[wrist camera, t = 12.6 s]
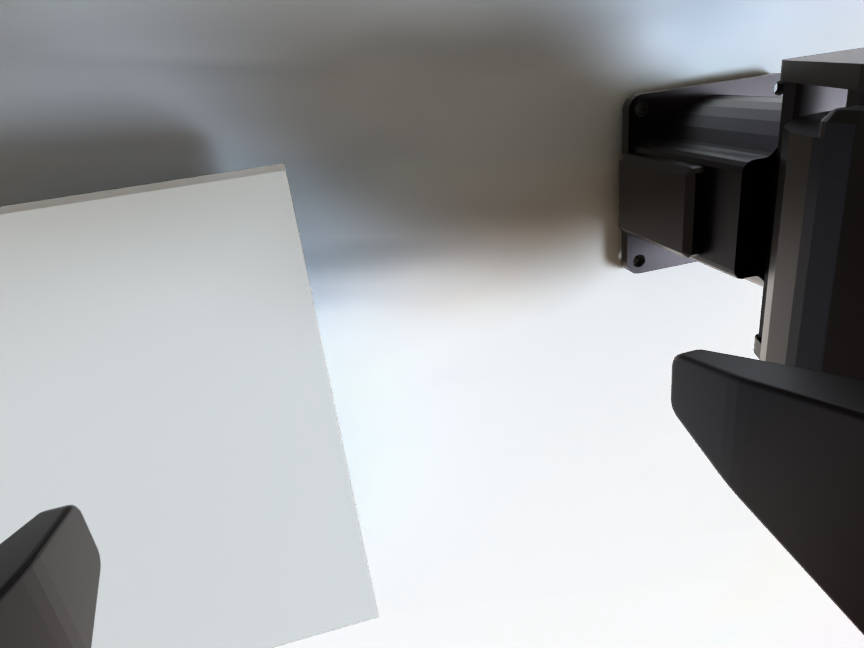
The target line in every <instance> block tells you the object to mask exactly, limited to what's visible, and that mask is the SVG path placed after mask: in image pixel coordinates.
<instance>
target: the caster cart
mask: <svg viewBox="0 0 864 648" xmlns="http://www.w3.org/2000/svg"><path fill="white" fill-rule="evenodd" d="M66 505H74V506H76V507H77V508H78V509H79V510H80V511H81V513H82V515H83V517H84V519H85V521H86V524H87V526H88V528H89V530H90V533H91V535H92V537H93V539H94V541H95V544H96V546H97V548H98V551H99V554H100V560H101V570H100V578H99V587H98V595H97V604H96V612H95V621H94V629H93V638H92V646H91V648H274V647H277V646H281V645H284V644H288V643H291V642H295V641H298V640H302V639H305V638H309V637H312V636H315V635H319V634H322V633H326V632H329V631H333V630H336V629H340V628H343V627H347V626H350V625H354V624H357V623H360V622H364V621H367V620H371V619H374V618H378V617H379V615H378V610H377V605H376V600H375V595H374V590H373V586H372V581H371V576H370V571H369V566H368V562H367V557H366V552H365V547H364V542H363V538H362V533H361V528H360V523H359V519H358V514H357V509H356V504H355V499H354V495H353V490H352V485H351V480H350V475H349V471H348V466H347V461H346V456H345V451H344V447H343V442H342V437H341V432H340V428H339V423H338V418H337V413H336V408H335V404H334V399H333V394H332V389H331V384H330V380H329V375H328V370H327V365H326V361H325V356H324V351H323V346H322V341H321V337H320V332H319V327H318V322H317V317H316V313H315V308H314V303H313V298H312V293H311V289H310V284H309V279H308V274H307V270H306V265H305V260H304V255H303V250H302V246H301V241H300V236H299V231H298V226H297V222H296V217H295V212H294V207H293V203H292V198H291V193H290V188H289V183H288V179H287V174H286V169H285V164H284V163H283V164H276V165H269V166H263V167H256V168H250V169H243V170H237V171H230V172H224V173H217V174H211V175H204V176H197V177H191V178H184V179H178V180H171V181H165V182H158V183H152V184H145V185H138V186H132V187H125V188H119V189H112V190H106V191H99V192H93V193H86V194H80V195H73V196H66V197H60V198H53V199H47V200H40V201H34V202H27V203H21V204H14V205H7V206H1V207H0V544H1V543H2V542H3V541H5V540H6V539H7V538H8V537H10V536H11V535H12V534H13V533H15V532H16V531H17V530H18V529H20V528H21V527H22V526H23V525H25V524H26V523H27V522H28V521H30V520H31V519H32V518H34V517H35V516H36V515H37V514H39V513H40V512H43V511H46V510H50V509H54V508H58V507H62V506H66Z"/></svg>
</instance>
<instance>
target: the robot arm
mask: <svg viewBox="0 0 864 648" xmlns="http://www.w3.org/2000/svg"><path fill="white" fill-rule="evenodd" d="M776 83H777V86H778V87H777V91H776V92H775V93H774V90H773V89H774V85H775V84H776ZM639 102H640V103H641V104H642V111H641V113H640V114H639V115H636V113H635V108H636V105H637V104H638V103H639ZM619 227H620V228H621V229H622V264H623V266H624V268H625V269H627V270H629V271H631V272H633V273H643V272H648V271H653V270H657V269H662V268H667V267H672V266H677V265H682V264H687V263H692V262H697V261H698V262H701V263H703V264H705V265H708V266H710V267H712V268H715V269H717V270H719V271H722V272H724V273H726V274H729V275H731V276H733V277H736V278H739V279H743V278H744V279H746V280H749V281H751V282H753V283H756V284H758V285H761V286H763V287H764V288H763V298H762V308H761V318H760V328H759V334H757V335H756V336H755V342H754V353H755V354H756V355H757V357H758V358H759V359H760V360H755V359H750V358H744V357H739V356H733V355H728V354H723V353H717V352H712V351H706V350H694V351H690V352H686V353H682V354H679V355H677V356H676V357H675V358H674V360H673V364H672V385H671V403H672V407H673V410H674V412H675V414H676V416H677V417H678V419H679V420H680V421H681V423H682V424H683V425H684V427H685V428H686V429H687V431H688V432H689V433H690V435H691V436H692V437H693V439H694V440H695V442H696V443H697V444H698V446H699V447H700V448H701V450H702V451H703V452H704V454H705V455H706V456H707V458H708V459H709V461H710V462H711V463H712V465H713V466H714V467H715V469H716V470H717V471H718V473H719V474H720V475H721V477H722V478H723V479H724V480H725V482H726V483H727V484H728V485H729V487H730V488H731V489H732V490H733V491H734V493H735V494H736V495H737V496H738V497H739V498H740V499H741V501H742V502H743V503H744V504H745V505H746V506H747V507H748V508H749V509H750V510H751V512H752V513H753V514H754V515H755V516H756V517H757V518H758V519H759V520H760V521H761V523H762V524H763V525H764V526H765V527H766V528H767V529H768V530H769V531H770V532H771V534H772V535H773V536H774V537H775V538H776V539H777V540H778V541H779V542H780V543H781V545H782V546H783V547H784V548H785V549H786V550H787V551H788V552H789V553H790V554H791V556H792V557H793V558H794V559H795V560H796V561H797V562H798V563H799V564H800V565H801V567H802V568H803V569H804V570H805V571H806V572H807V573H808V574H809V575H810V576H811V578H812V579H813V580H814V581H815V582H816V583H817V584H818V585H819V586H820V587H821V589H822V590H823V591H824V592H825V593H826V594H827V595H828V596H829V597H830V598H831V600H832V601H833V602H834V603H835V604H836V605H837V606H838V607H839V608H840V609H841V611H842V612H843V613H844V614H845V615H846V616H847V617H848V618H849V619H850V620H851V622H852V623H853V624H854V625H855V626H856V627H857V628H858V629H859V630H860V631H861V633H862V634H863V635H864V48H858V49H851V50H844V51H837V52H831V53H824V54H817V55H810V56H804V57H797V58H790V59H784V60H782V67H781V73H772V74H765V75H759V76H752V77H745V78H738V79H731V80H725V81H718V82H711V83H704V84H698V85H691V86H684V87H677V88H670V89H664V90H657V91H650V92H643V93H637V94H633V95H631V96H630V97H629V98H627V99H626V101H625V103H624V105H623V124H622V157H621V159H620V161H619ZM637 255H639V261H638V262H637V263H635V264H633V260H634V258H635V257H636V256H637ZM100 570H101V560H100V554H99V551H98V548H97V546H96V544H95V541H94V539H93V537H92V535H91V533H90V530H89V528H88V526H87V524H86V521H85V519H84V517H83V515H82V513H81V511H80V510H79V509H78V508H77V507H76V506H74V505H66V506H62V507H58V508H54V509H50V510H46V511H43V512H40V513H39V514H37V515H36V516H35V517H34V518H32V519H31V520H30V521H28V522H27V523H26V524H25V525H23V526H22V527H21V528H20V529H18V530H17V531H16V532H15V533H13V534H12V535H11V536H10V537H8V538H7V539H6V540H5V541H3V542H2V543H1V544H0V648H91V646H92V638H93V629H94V621H95V612H96V604H97V595H98V587H99V578H100Z"/></svg>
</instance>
